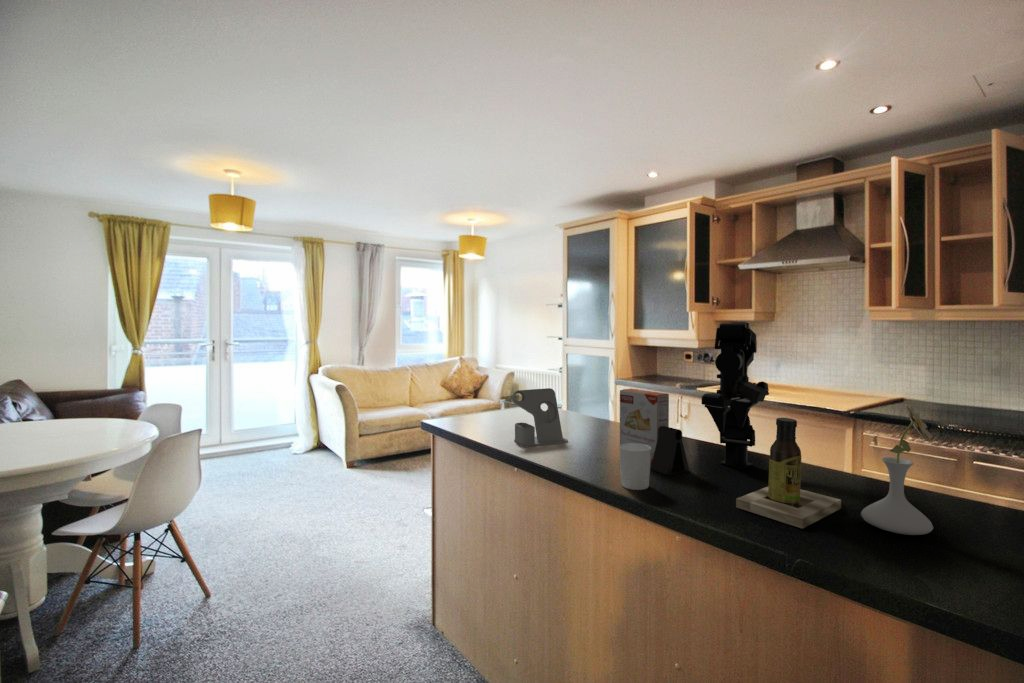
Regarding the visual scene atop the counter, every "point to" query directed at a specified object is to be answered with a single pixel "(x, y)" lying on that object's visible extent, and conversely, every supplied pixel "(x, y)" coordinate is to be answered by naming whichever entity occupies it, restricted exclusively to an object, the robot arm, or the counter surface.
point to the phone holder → (539, 419)
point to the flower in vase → (899, 491)
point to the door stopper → (669, 452)
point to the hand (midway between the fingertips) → (731, 429)
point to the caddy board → (790, 507)
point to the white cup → (635, 465)
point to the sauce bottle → (785, 465)
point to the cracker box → (642, 416)
